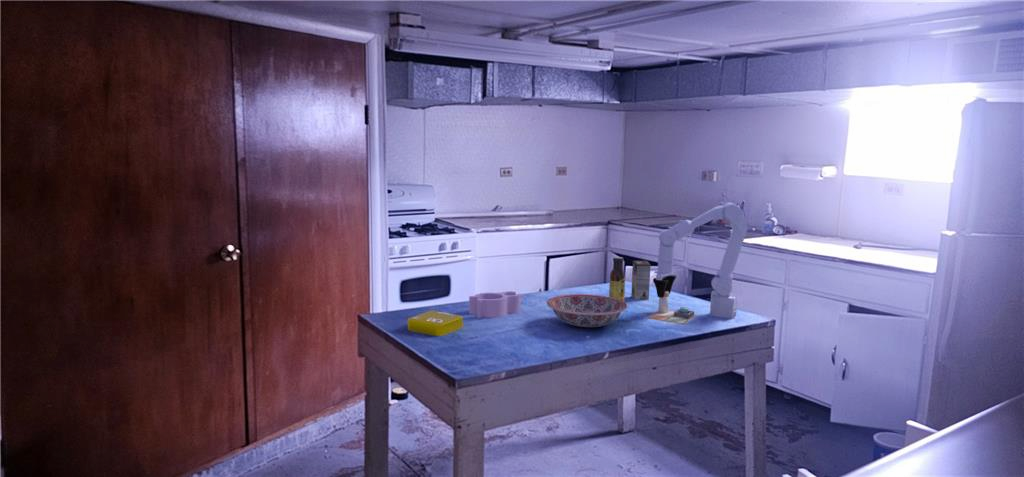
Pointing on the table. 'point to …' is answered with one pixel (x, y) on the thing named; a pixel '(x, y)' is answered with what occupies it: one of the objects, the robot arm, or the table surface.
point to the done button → (684, 310)
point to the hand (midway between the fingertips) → (663, 295)
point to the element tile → (435, 323)
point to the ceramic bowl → (586, 309)
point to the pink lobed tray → (494, 304)
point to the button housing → (683, 314)
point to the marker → (664, 303)
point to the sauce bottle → (617, 280)
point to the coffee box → (640, 280)
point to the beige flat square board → (669, 317)
